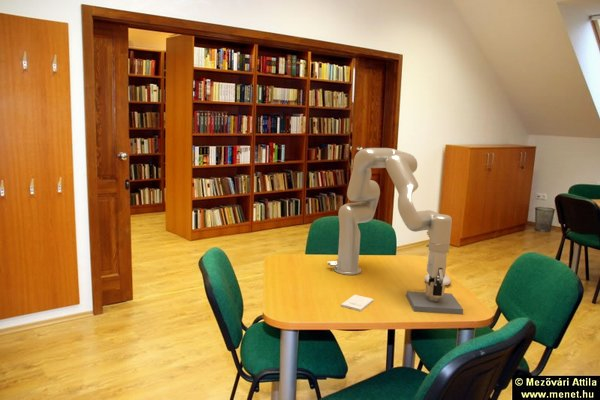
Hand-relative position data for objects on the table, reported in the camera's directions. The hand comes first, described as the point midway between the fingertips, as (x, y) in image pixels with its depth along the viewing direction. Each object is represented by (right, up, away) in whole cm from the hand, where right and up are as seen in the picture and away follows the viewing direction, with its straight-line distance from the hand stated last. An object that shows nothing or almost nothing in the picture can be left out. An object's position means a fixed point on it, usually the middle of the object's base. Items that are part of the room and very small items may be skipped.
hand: (434, 291), depth 188 cm
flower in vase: (+8, -1, +26) cm, 28 cm away
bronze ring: (0, -1, 0) cm, 1 cm away
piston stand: (0, -5, +1) cm, 5 cm away
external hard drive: (-30, -5, -2) cm, 31 cm away
